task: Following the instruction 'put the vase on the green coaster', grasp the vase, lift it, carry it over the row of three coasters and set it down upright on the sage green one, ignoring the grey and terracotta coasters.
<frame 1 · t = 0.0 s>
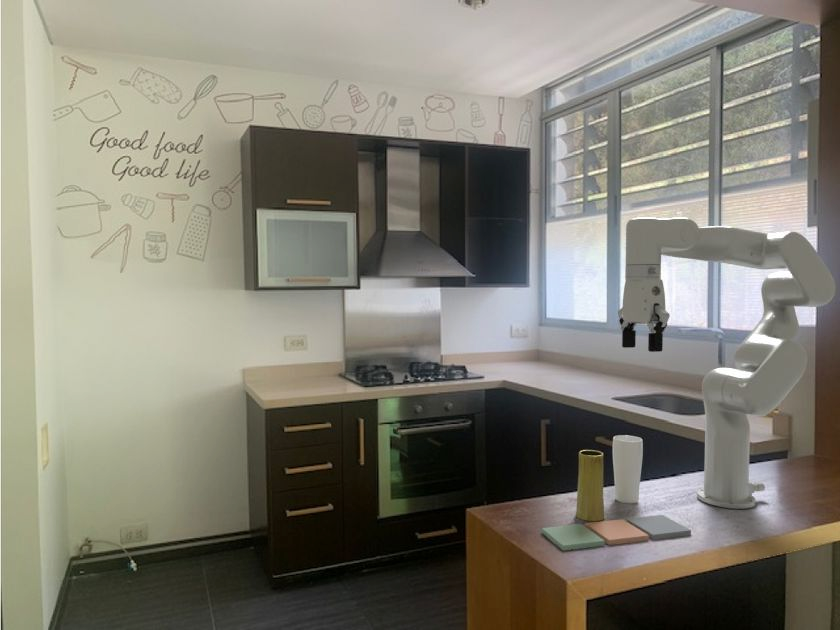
hand: (641, 349, 140), 37 cm above the table, tool pointing down, fingers open, 9 cm apart
drinking glass: (626, 501, 147), on the table
vase: (590, 517, 137), on the table
green coaster: (572, 539, 124), on the table
grey coaster: (657, 529, 130), on the table
terracotta coaster: (616, 533, 127), on the table
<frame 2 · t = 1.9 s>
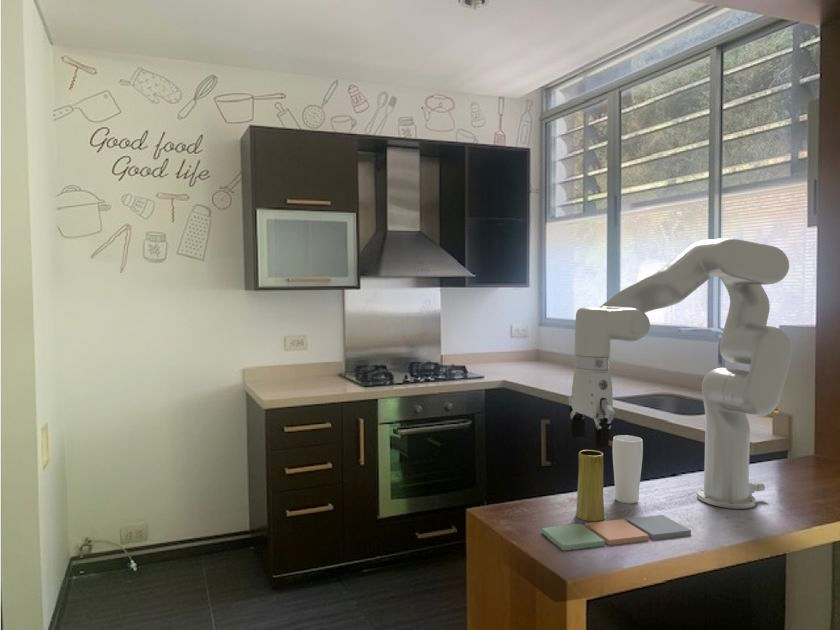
hand: (588, 441, 136), 17 cm above the table, tool pointing down, fingers open, 9 cm apart
nothing on the table moved.
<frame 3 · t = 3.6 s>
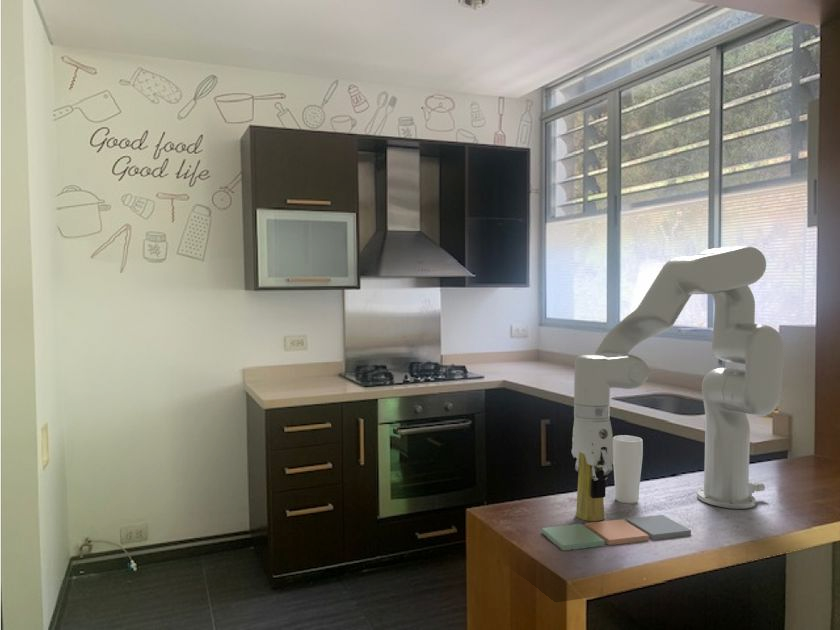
hand: (590, 492, 136), 6 cm above the table, tool pointing down, fingers closed on vase, 5 cm apart
vase: (590, 517, 137), on the table, touching gripper
everything else where it was.
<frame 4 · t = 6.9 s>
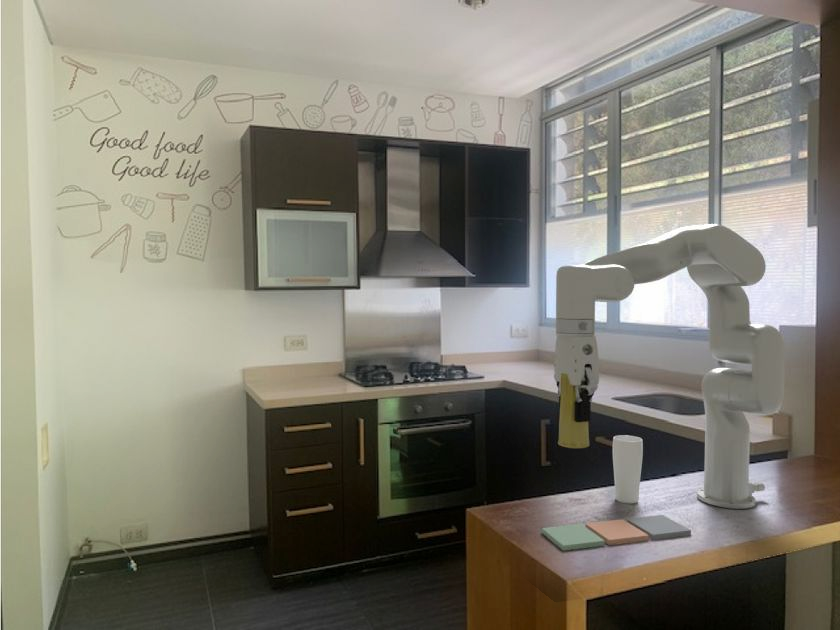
hand: (574, 417, 123), 25 cm above the table, tool pointing down, fingers closed on vase, 5 cm apart
vase: (573, 445, 124), point 19 cm above the table, touching gripper
everything else where it was.
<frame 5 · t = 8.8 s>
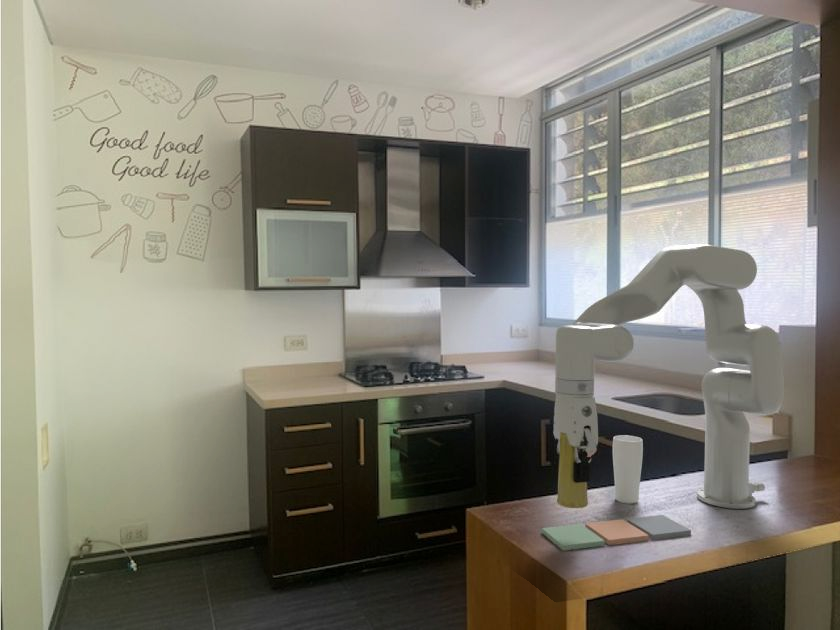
hand: (573, 476, 124), 13 cm above the table, tool pointing down, fingers closed on vase, 5 cm apart
vase: (572, 504, 124), point 7 cm above the table, touching gripper
everything else where it was.
when the fingers open (8 cm above the table, at t = 10.3 s): vase drops 1 cm, resting on green coaster.
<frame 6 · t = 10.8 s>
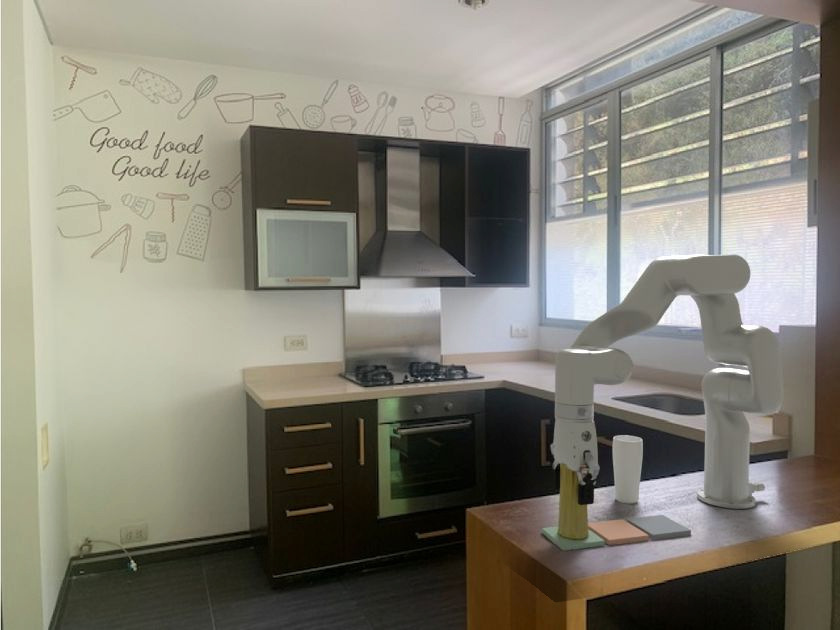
hand: (572, 495, 124), 9 cm above the table, tool pointing down, fingers open, 9 cm apart
vase: (573, 534, 124), point 1 cm above the table, touching green coaster
everything else where it was.
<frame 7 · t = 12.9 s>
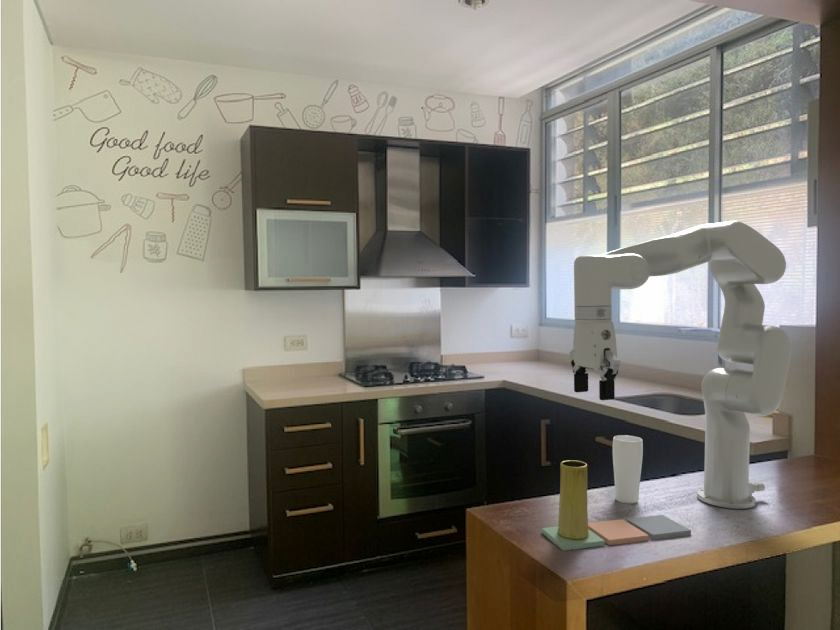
hand: (593, 395, 130), 28 cm above the table, tool pointing down, fingers open, 9 cm apart
nothing on the table moved.
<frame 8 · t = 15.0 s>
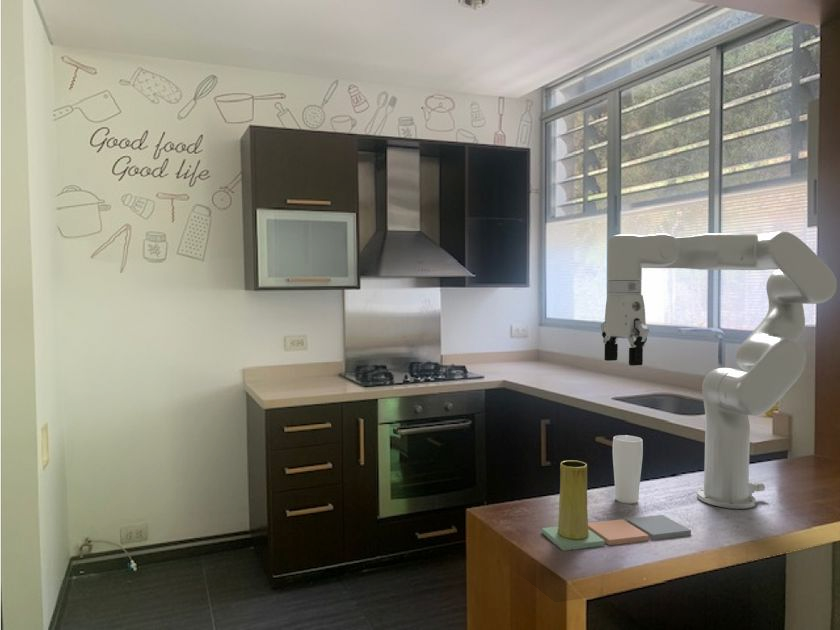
hand: (622, 362, 143), 33 cm above the table, tool pointing down, fingers open, 9 cm apart
nothing on the table moved.
at the end: vase 0.2 cm off-centre on the green coaster, point 0.8 cm above the green coaster's base; vase tilted 0°; drinking glass moved 0.2 cm from its start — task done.
